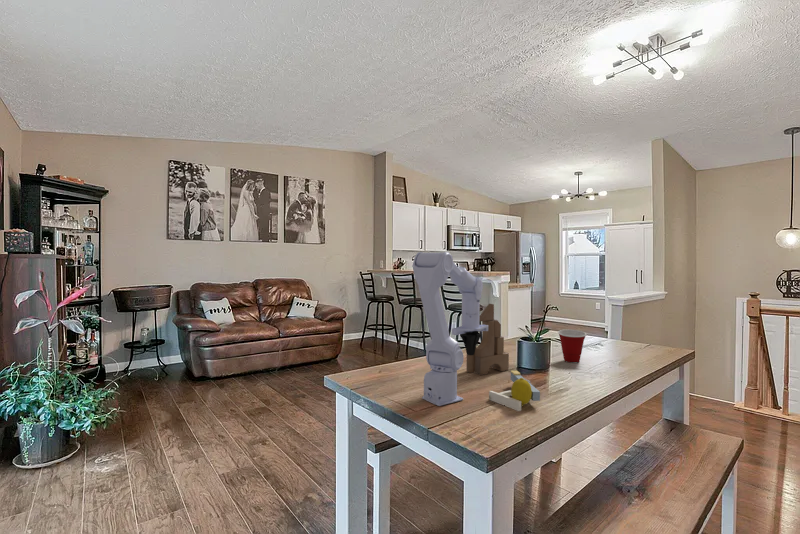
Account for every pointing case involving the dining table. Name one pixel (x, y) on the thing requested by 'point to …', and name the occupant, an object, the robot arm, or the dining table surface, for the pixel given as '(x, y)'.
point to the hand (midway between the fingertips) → (470, 354)
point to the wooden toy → (489, 347)
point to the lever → (535, 393)
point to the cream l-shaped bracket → (505, 399)
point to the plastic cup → (572, 344)
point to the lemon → (521, 391)
